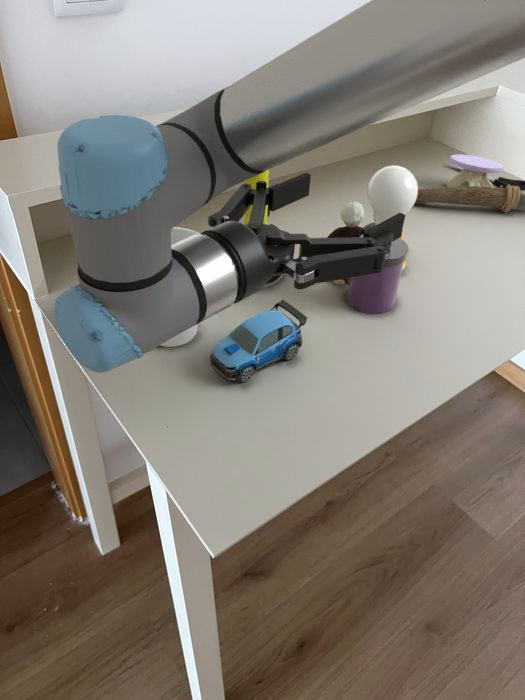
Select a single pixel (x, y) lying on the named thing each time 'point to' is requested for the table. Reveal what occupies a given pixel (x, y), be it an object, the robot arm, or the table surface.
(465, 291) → the table surface
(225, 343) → the toy car
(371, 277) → the jar
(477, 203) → the stone tool
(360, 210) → the grandmother figurine
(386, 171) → the lightbulb
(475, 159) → the toy table
